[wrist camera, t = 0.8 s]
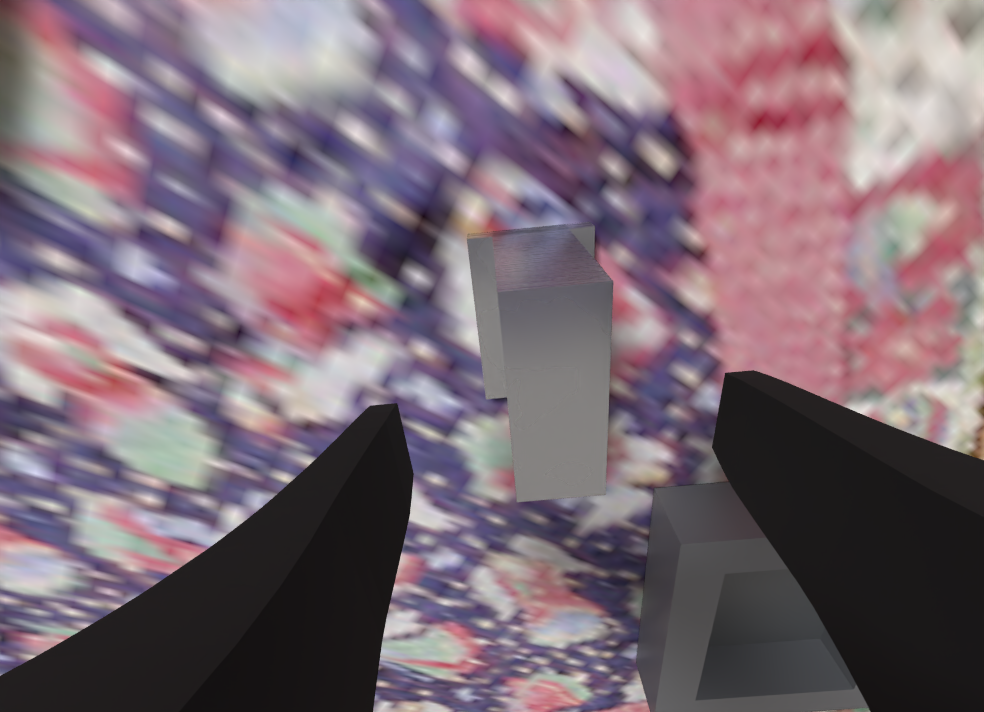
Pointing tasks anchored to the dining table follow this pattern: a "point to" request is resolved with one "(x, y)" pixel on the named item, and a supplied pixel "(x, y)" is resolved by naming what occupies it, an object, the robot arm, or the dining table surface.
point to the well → (729, 616)
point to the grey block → (547, 352)
